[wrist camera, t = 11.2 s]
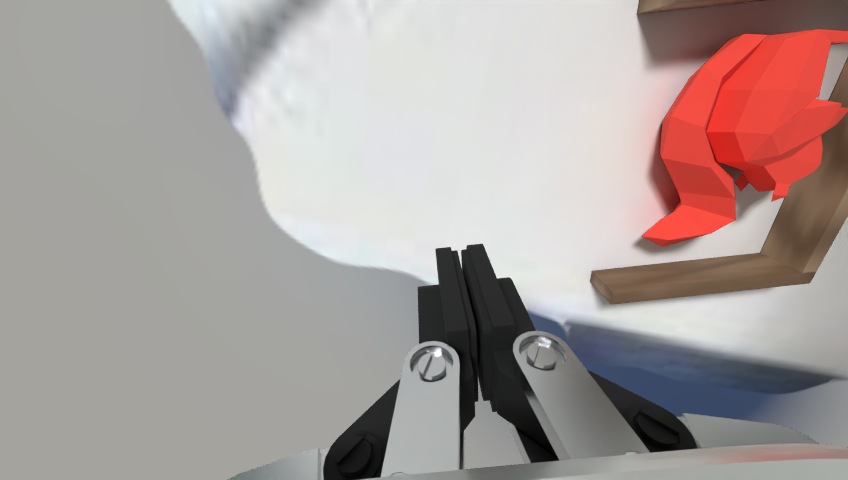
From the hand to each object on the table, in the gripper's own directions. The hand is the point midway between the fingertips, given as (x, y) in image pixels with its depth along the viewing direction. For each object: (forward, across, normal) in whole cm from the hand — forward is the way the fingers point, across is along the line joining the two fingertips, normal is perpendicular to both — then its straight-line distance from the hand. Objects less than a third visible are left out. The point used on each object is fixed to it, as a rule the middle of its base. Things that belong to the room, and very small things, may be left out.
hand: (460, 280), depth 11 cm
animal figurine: (+16, -22, +1) cm, 27 cm away
